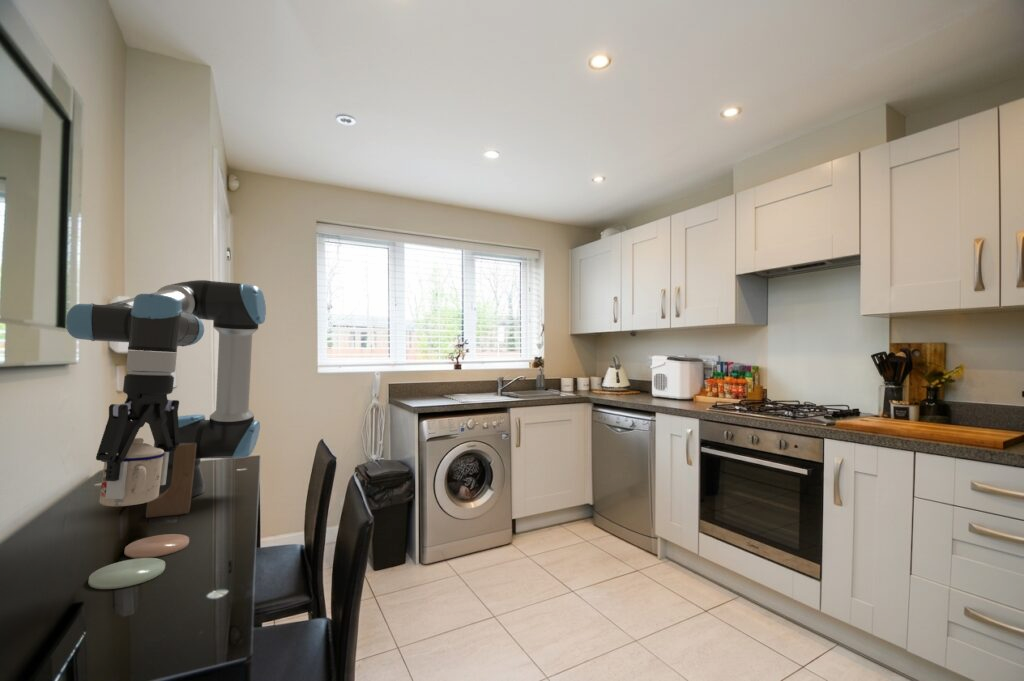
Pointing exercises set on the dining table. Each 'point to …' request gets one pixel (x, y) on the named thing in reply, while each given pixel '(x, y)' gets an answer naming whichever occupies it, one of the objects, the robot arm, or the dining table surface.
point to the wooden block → (176, 485)
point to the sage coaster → (126, 573)
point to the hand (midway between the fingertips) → (137, 490)
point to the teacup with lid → (138, 475)
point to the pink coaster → (156, 546)
